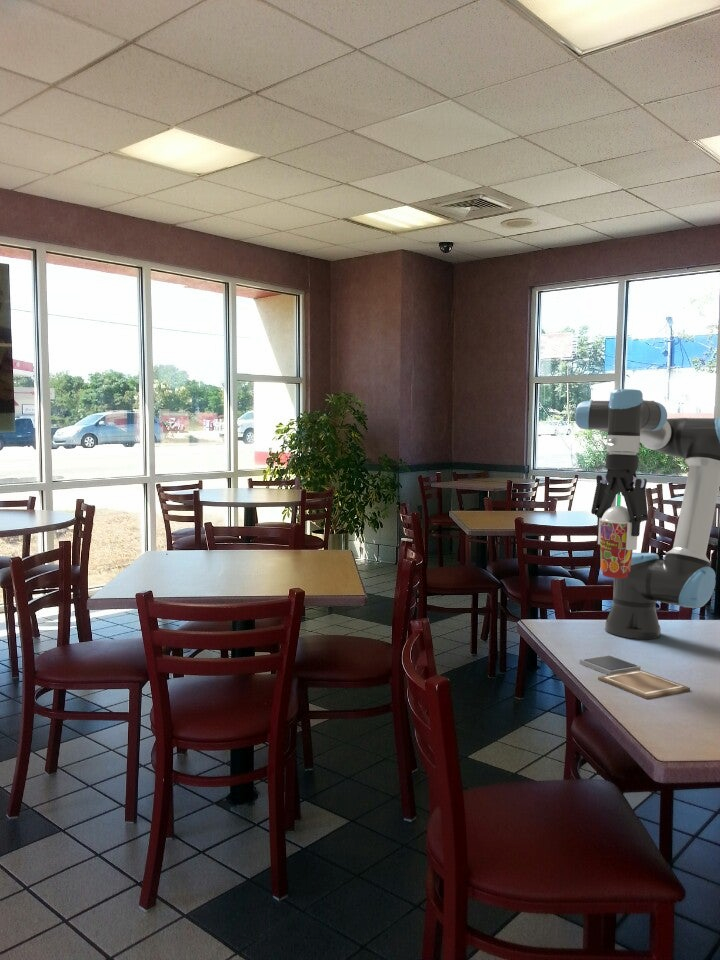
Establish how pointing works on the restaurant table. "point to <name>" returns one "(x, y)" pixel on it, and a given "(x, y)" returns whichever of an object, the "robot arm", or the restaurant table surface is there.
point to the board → (644, 684)
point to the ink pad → (609, 665)
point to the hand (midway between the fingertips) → (616, 546)
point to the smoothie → (615, 542)
